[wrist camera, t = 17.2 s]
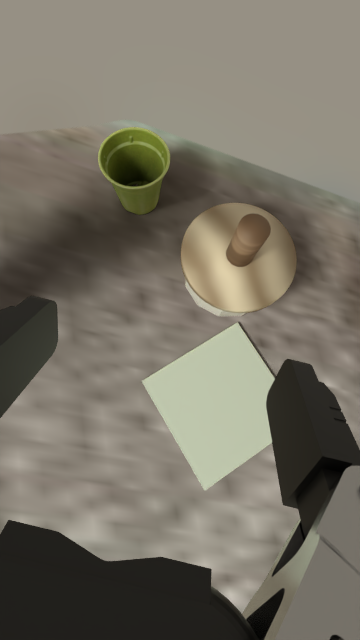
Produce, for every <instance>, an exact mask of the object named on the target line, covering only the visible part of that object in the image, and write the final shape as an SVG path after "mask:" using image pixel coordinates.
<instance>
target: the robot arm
mask: <svg viewBox="0 0 360 640" xmlns="http://www.w3.org/2000/svg"><path fill="white" fill-rule="evenodd" d="M57 342H58V319H57V304H56V302H55V301H52V300H48V299H44V298H40V297H36V296H29V297H28V298H27V299H25V300H24V301H23V302H21V303H20V304H19V305H17V306H16V307H14V306H10V307H8V308H5V309H2V310H0V418H1V417H2V415H3V414H4V413H5V412H6V411H7V409H8V408H9V407H10V406H11V404H12V403H13V402H14V401H15V400H16V398H17V397H18V396H19V395H20V393H21V392H22V391H23V390H24V389H25V387H26V386H27V385H28V384H29V383H30V381H31V380H32V379H33V378H34V376H35V375H36V374H37V373H38V372H39V370H40V369H41V368H42V367H43V365H44V364H45V363H46V362H47V361H48V359H49V358H50V357H51V356H52V354H53V353H54V351H55V349H56V346H57ZM266 409H267V415H268V421H269V427H270V432H271V438H272V444H273V450H274V456H275V461H276V467H277V473H278V479H279V485H280V490H281V496H282V502H283V505H285V506H289V507H293V508H297V509H298V510H299V514H300V519H299V520H298V522H297V523H296V524H295V526H294V528H293V530H292V532H291V533H290V535H289V537H288V539H287V541H286V542H285V544H284V546H283V548H282V550H281V552H280V553H279V555H278V557H277V559H276V561H275V562H274V564H273V566H272V568H271V570H270V572H269V573H268V575H267V577H266V579H265V580H264V582H263V583H262V585H261V586H260V588H259V589H258V591H257V592H256V593H255V595H254V596H253V597H252V599H251V600H250V602H249V603H248V605H247V607H246V608H245V610H244V612H243V613H242V614H241V612H240V611H239V610H238V609H237V608H236V607H235V606H234V605H233V604H232V603H231V602H230V601H229V600H228V599H227V598H226V597H225V596H224V595H222V594H221V593H220V592H219V591H218V590H216V589H215V588H213V587H211V569H209V568H205V567H201V566H197V565H192V564H188V563H184V562H180V561H176V560H172V559H168V558H164V557H156V558H145V559H133V560H122V561H104V560H102V559H100V558H98V557H97V556H95V555H94V554H92V553H90V552H89V551H87V550H86V549H84V548H83V547H81V546H80V545H78V544H76V543H75V542H73V541H72V540H70V539H69V538H67V537H66V536H64V535H62V534H61V533H59V532H57V531H53V530H48V529H44V528H40V527H36V526H32V525H28V524H24V523H20V522H16V521H11V520H8V522H7V524H6V525H5V527H4V529H3V531H2V532H1V534H0V640H360V450H359V448H358V445H357V443H356V441H355V439H354V437H353V434H352V432H351V430H350V428H349V426H348V424H346V419H345V417H344V415H343V413H342V412H341V408H340V406H339V404H338V402H337V400H336V397H335V395H334V394H333V393H332V392H331V391H330V390H329V389H328V387H327V386H326V385H325V384H324V383H322V382H319V381H318V379H317V376H316V374H315V372H314V369H313V367H312V365H310V364H307V363H303V362H299V361H295V360H291V359H287V360H285V361H284V363H283V365H282V366H281V368H280V370H279V372H278V374H277V376H276V378H275V380H274V382H273V384H272V385H271V387H270V389H269V392H268V395H267V400H266Z"/></svg>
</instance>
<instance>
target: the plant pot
mask: <svg viewBox="0 0 360 640" xmlns="http://www.w3.org/2000/svg"><path fill="white" fill-rule="evenodd" d="M98 163H99V167H100V169H101V171H102V173H103V175H104V176H105V177H106V178H107V179H108V180H109V181H110V182H111V183H112V185H113V187H114V189H115V191H116V193H117V195H118V197H119V199H120V202H121V204H122V205H123V207H124V208H125V209H126V210H127V211H129V212H132V213H135V214H138V215H141V214H146V213H149V212H150V211H152V210H153V209H154V208H155V207H156V205H157V203H158V200H159V194H160V189H161V184H162V179H163V177H164V176H165V175H166V173H167V171H168V169H169V165H170V152H169V149H168V147H167V145H166V143H165V142H164V140H163V139H162V138H161V137H159V136H158V135H157V134H155V133H154V132H152V131H150V130H147V129H144V128H137V127H130V128H123V129H120V130H118V131H116V132H114V133H112V134H111V135H110V136H108V137H107V138H106V139H105V140H104V142H103V143H102V145H101V147H100V149H99V153H98ZM134 184H138V185H137V186H133V187H130V186H132V185H134Z"/></svg>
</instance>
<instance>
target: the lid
mask: <svg viewBox="0 0 360 640" xmlns="http://www.w3.org/2000/svg"><path fill="white" fill-rule="evenodd" d="M296 264H297V257H296V250H295V246H294V243H293V240H292V238H291V236H290V234H289V233H288V231H287V230H286V228H285V227H284V226H283V225H282V223H281V222H280V221H279V220H278V219H277V218H275V217H274V216H273V215H271V214H270V213H268V212H267V211H265V210H263V209H261V208H259V207H256V206H253V205H249V204H244V203H226V204H220V205H217V206H214V207H212V208H209V209H207V210H206V211H204V212H203V213H201V214H200V215H199V216H197V217H196V218H195V219H194V221H193V222H192V223H191V224H190V226H189V227H188V229H187V231H186V233H185V235H184V238H183V242H182V247H181V266H182V270H183V274H184V276H185V279H186V281H187V282H188V284H189V286H190V287H191V289H192V290H193V291H194V292H195V293H196V294H197V295H198V296H199V297H200V298H201V299H202V300H203V301H205V302H206V303H208V304H209V305H211V306H213V307H215V308H217V309H220V310H223V311H226V312H232V313H250V312H254V311H258V310H261V309H263V308H265V307H267V306H269V305H271V304H272V303H273V302H275V301H276V300H278V299H279V298H280V297H281V296H282V295H283V294H284V293H285V292H286V290H287V289H288V288H289V286H290V284H291V283H292V281H293V278H294V275H295V271H296Z"/></svg>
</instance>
